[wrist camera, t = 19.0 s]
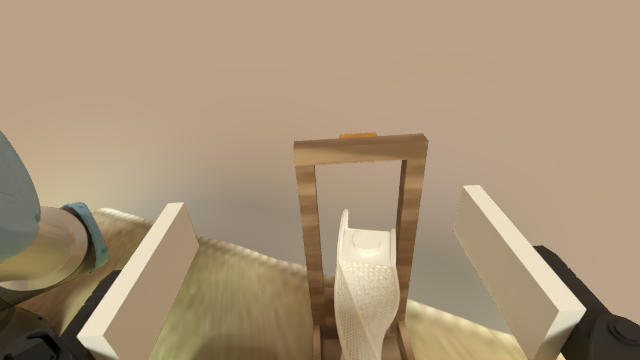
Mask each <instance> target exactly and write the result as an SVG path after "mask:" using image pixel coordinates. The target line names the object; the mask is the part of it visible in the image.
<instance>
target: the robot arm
mask: <svg viewBox="0 0 640 360" xmlns="http://www.w3.org/2000/svg"><path fill="white" fill-rule="evenodd" d="M453 232H454V234H455V235H456V237H457V239H458V241H459V242H460V244H461V245H462V247H463V249H464V251H465V253H466V254H467V256H468V258H469V259H470V261H471V263H472V264H473V266H474V268H475V270H476V271H477V273H478V275H479V276H480V278H481V280H482V282H483V283H484V285H485V287H486V288H487V290H488V292H489V293H490V295H491V297H492V299H493V300H494V302H495V304H496V305H497V307H498V309H499V310H500V312H501V314H502V316H503V317H504V319H505V321H506V322H507V324H508V326H509V327H510V329H511V331H512V333H513V334H514V336H515V338H516V340H517V341H518V343H519V345H520V346H521V348H522V350H523V352H524V353H525V355H526V357H527V358H528V360H556V359H557V357H558V355H559V354H560V352H561V353H562V355H563V356H564V358H565V359H566V360H640V326H639V325H638V324H636V323H634V322H632V321H630V320H628V319H626V318H624V317H621V316H617V315H613V314H612V313H610V311H608V309H607V308H606V307H605V306H604V305H603V304H602V303H601V302H600V301H599V300H598V298H596V296H595V295H594V294H593V293H592V292H591V291H590V290H589V289H588V288H587V287H586V286H585V284H583V282H582V281H581V280H580V279H579V278H576V275H575V274H574V273H573V272H572V271H571V269H570V268H568V267H567V265H566V264H565V263H564V262H563V261H562V260H561V259H560V258H559V257H558V255H556V254H555V253H553V252H552V251H550V250H549V249H547V248H546V247H544V246H531V244H530V243H529V242H528V241H527V240H526V239H525V238H524V236H523V235H522V234H521V233H520V232H519V231H518V229H517V228H516V227H515V226H514V225H513V224H512V222H511V221H510V220H509V219H508V218H507V217H506V216H505V214H504V213H503V212H502V211H501V210H500V209H499V207H498V206H497V205H496V204H495V203H494V202H493V200H492V199H491V198H490V197H489V196H488V195H487V193H486V192H485V191H484V190H483V189H482V188H481V186H480V185H470V186H463V187H462V192H461V197H460V201H459V206H458V210H457V215H456V219H455V225H454V229H453ZM198 248H199V243H198V240H197V238H196V235H195V232H194V229H193V226H192V223H191V221H190V218H189V215H188V212H187V209H186V206H185V203H184V202H182V203H168V204H167V206H166V207H165V209H164V210H163V212H162V213H161V214H160V216H159V217H158V219H157V220H156V222H155V223H154V225H153V226H152V228H151V229H150V230H149V232H148V233H147V235H146V236H145V238H144V239H143V241H142V242H141V244H140V245H139V247H138V248H137V249H136V251H135V252H134V254H133V255H132V257H131V258H130V260H129V261H128V263H127V264H126V265H125V267H124V268H123V270H114V271H112V272H111V273H110V274H109V275H108V276H106V277H105V278H104V279H103V280H102V281H100V283H99V284H98V286H97V287H96V288H95V290H94V291H93V292H92V295H91V296H89V298H88V299H87V300H86V302H85V305H84V306H82V307H81V309H80V310H79V311H78V313H77V314H76V315H75V317H74V318H73V320H72V321H71V322H70V324H69V325H68V326H67V328H66V329H65V330H64V332H63V333H62V335H61V336H60V337H59V336H58V335H57V334H56V333H55V331H54V329H53V327H52V326H51V325H50V323H49V322H48V321H47V320H46V319H45V318H44V317H42V316H40V315H37V314H33V313H32V312H30V311H28V310H25V309H23V308H21V307H18V306H16V305H18V304H19V303H22V302H24V301H26V300H28V299H30V298H33V297H35V296H37V295H39V294H41V293H44V292H46V291H48V290H50V289H53V288H55V287H57V286H59V285H61V284H64V283H66V282H68V281H70V280H72V279H75V278H77V277H79V276H81V275H84V274H86V273H88V272H89V273H90V272H93V271H95V270H96V269H97V268H98V267H100V266H102V265H104V264H106V263H107V262H108V261H109V258H110V255H109V251H108V249H107V247H106V244H105V241H104V239H103V236H102V234H101V232H100V230H99V228H98V226H97V223H96V221H95V219H94V217H93V216H92V214H91V212H90V211H89V209H88V207H87V206H86V205H85V204H84V203H81V202H77V203H73V204H67V205H63V206H62V207H61V208H54V207H45V206H40V204H39V199H38V196H37V193H36V190H35V187H34V185H33V182H32V180H31V178H30V175H29V173H28V171H27V169H26V168H25V166H24V164H23V162H22V161H21V159H20V157H19V156H18V154H17V153H16V151H15V150H14V148H13V147H12V145H11V143H10V142H9V141H8V140H7V138H6V137H5V136H4V134H3V133H2V132H1V131H0V360H148V359H149V357H150V355H151V352H152V350H153V348H154V346H155V343H156V341H157V339H158V337H159V334H160V332H161V330H162V328H163V326H164V323H165V321H166V319H167V317H168V314H169V312H170V310H171V308H172V306H173V303H174V301H175V299H176V297H177V294H178V292H179V290H180V288H181V285H182V283H183V281H184V279H185V277H186V274H187V272H188V270H189V268H190V265H191V263H192V261H193V259H194V256H195V254H196V252H197V250H198Z"/></svg>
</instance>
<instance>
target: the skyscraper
mask: <svg viewBox="0 0 640 360" xmlns="http://www.w3.org/2000/svg"><path fill="white" fill-rule="evenodd" d="M399 301H400V289H399V281H398V275H397V269H396V230H395V229H394V228H392V229H391V232H386V231H374V230H363V229H351V228H348V210H347V209H345V210H344V211H343V214H342V218H341V223H340V230H339V237H338V247H337V266H336V275H335V285H334V308H335V318H336V325H337V331H338V336H339V340H340V344H341V348H342V354H341V358H340V360H381V350H382V343H383V339H384V335H385V333H386V330H387V329H388V327H389V326H390V324H391V323H392V321H393V319H394V318H395V316H396V313H397V310H398V307H399Z"/></svg>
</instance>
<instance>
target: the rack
mask: <svg viewBox="0 0 640 360" xmlns="http://www.w3.org/2000/svg"><path fill="white" fill-rule="evenodd" d="M427 148H428V140H427V139H426V137H425V136H424V135H423V134H407V135H391V136H377V134H376V133H360V134H344V135H340V139H327V140H326V139H325V140H309V141H295V142H294V148H293V150H294V159H295V168H296V177H297V184H298V185H297V186H298V194H299V202H300V212H301V221H302V230H303V239H304V246H305V256H306V265H307V274H308V283H309V292H310V300H311V309H312V318H313V360H340V358H341V354H342V348H341V344H340V340H339V336H338V331H337V325H336V318H335V308H334V287H328V288H324V283H323V271H322V257H321V244H320V232H319V219H318V205H317V191H316V179H315V165H323V164H340V163H357V162H371V161H372V162H373V161H389V160H402V165H401V176H400V187H399V199H398V209H397V221H396V269H397V275H398V281H399V289H400V301H399V307H398V310H397V313H396V316H395V318H394V319H393V321H392V323H391V324H390V326H389V327H388V329H387V330H386V333H385V335H384V339H383V343H382V350H381V360H415V357H414V354H413V350H412V346H411V343H410V339H409V336H408V332H407V329H406V325H405V321H404V318H405V311H406V303H407V296H408V288H409V281H410V273H411V267H412V259H413V252H414V244H415V236H416V230H417V222H418V215H419V207H420V199H421V193H422V185H423V178H424V170H425V163H426V156H427Z"/></svg>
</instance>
